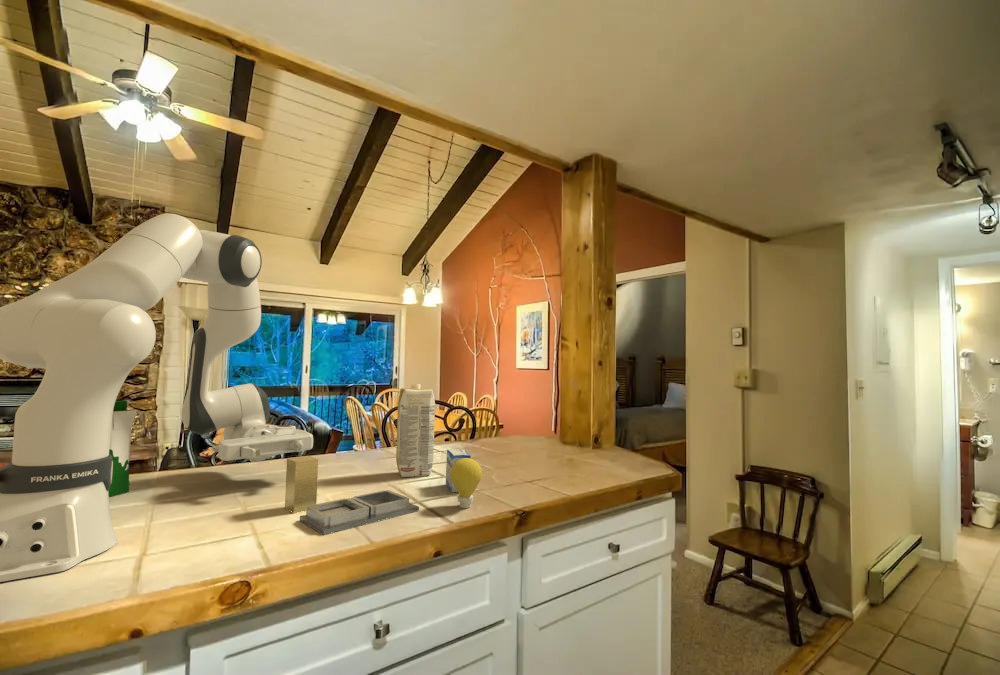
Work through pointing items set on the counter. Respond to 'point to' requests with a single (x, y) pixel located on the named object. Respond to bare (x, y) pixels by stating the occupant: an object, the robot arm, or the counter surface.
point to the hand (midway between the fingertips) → (279, 450)
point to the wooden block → (301, 483)
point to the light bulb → (466, 479)
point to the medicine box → (453, 457)
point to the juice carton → (415, 431)
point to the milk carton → (120, 447)
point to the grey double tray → (356, 511)
